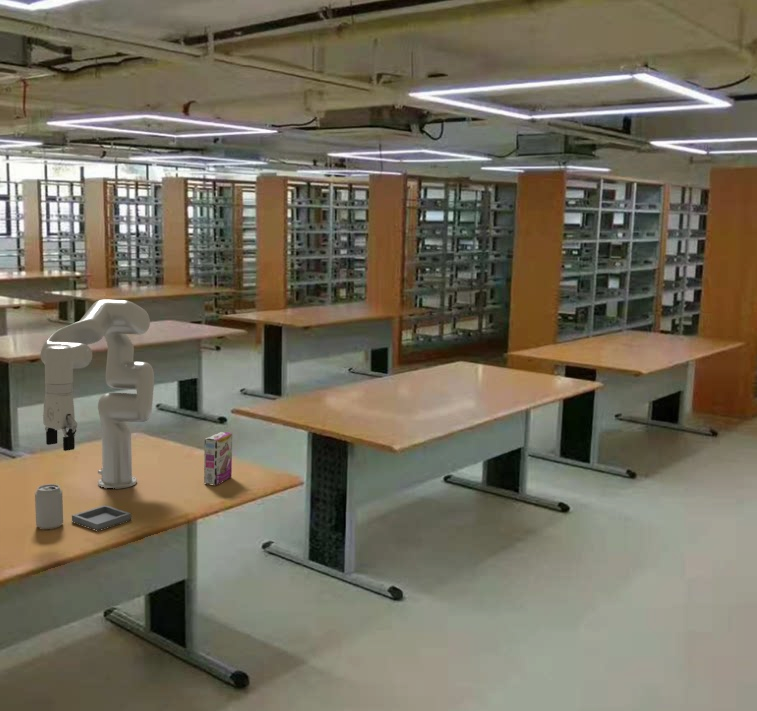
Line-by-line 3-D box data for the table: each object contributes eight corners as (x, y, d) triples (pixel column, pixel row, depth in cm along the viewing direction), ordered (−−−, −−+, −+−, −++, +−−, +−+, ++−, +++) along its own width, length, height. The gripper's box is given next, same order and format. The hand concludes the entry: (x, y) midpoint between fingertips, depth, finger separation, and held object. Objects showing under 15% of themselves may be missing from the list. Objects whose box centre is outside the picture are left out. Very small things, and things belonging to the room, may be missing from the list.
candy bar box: (216, 486, 285) (216, 440, 282) (203, 484, 287) (203, 438, 284) (232, 477, 295) (232, 432, 293) (220, 475, 297) (220, 431, 295)
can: (68, 526, 245) (67, 486, 243) (43, 532, 239) (42, 492, 237) (55, 519, 250) (54, 481, 248) (31, 526, 244) (29, 486, 242)
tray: (72, 522, 248) (71, 515, 247) (105, 511, 257) (105, 504, 257) (97, 531, 241) (97, 524, 241) (131, 520, 251) (131, 513, 250)
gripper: (32, 386, 242) (33, 443, 244) (62, 394, 231) (63, 454, 233) (56, 383, 248) (57, 440, 250) (87, 391, 237) (87, 450, 239)
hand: (60, 447), depth 242 cm, fingers open, 9 cm apart
